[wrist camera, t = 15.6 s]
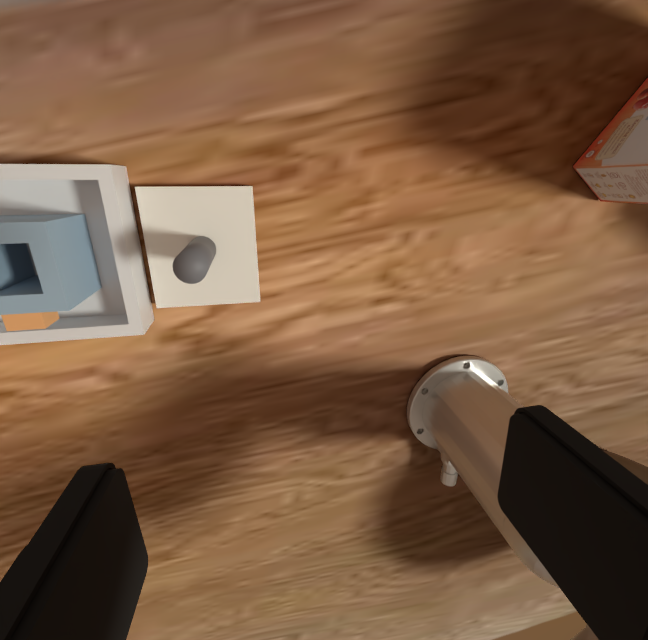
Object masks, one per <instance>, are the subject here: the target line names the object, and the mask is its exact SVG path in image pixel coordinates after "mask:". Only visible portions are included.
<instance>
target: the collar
mask: <svg viewBox="0 0 648 640" xmlns="http://www.w3.org/2000/svg"><path fill="white" fill-rule="evenodd" d="M26 243H29V247H30V250H31V253H32V257H33V260H34V264H35V267H36V270H37V274H38V275H35V272H34V269H33V265H32V262H31V259H30V255H29V252H28V249H27V245H26ZM101 288H102V285H101V280H100V276H99V272H98V268H97V263H96V259H95V255H94V251H93V246H92V242H91V238H90V234H89V229H88V225H87V221H86V217H85V214H50V215H0V315H1V316H2V319H3V322H4V325H5V328H6V331H18V330H32V329H46V328H47V327H49V326H50V325H51V324H53V323H54V322H56V321H57V320H58V319H60V318H59V315H58V311H70V310H71V309H73V308H74V307H76V306H77V305H78V304H80V303H81V302H82V301H84V300H85V299H87V298H88V297H89V296H91V295H92V294H94V293H95V292H96V291H98V290H99V289H101Z"/></svg>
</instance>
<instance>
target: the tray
mask: <svg viewBox="0 0 648 640" xmlns="http://www.w3.org/2000/svg"><path fill="white" fill-rule="evenodd" d="M50 214H85V217H86V221H87V225H88V229H89V234H90V238H91V242H92V246H93V251H94V255H95V259H96V263H97V268H98V272H99V276H100V280H101V285H102V288H101V289H99V290H98V291H96V292H95V293H94V294H92V295H91V296H89V297H88V298H87V299H85V300H84V301H82V302H81V303H80V304H78V305H77V306H76V307H74V308H73V309H71V310H70V311H58V315H59V318H60V319H58V320H57V321H56V322H54V323H53V324H51V325H50V326H49V327H47V328H46V329H32V330H18V331H6V328H5V325H4V322H3V319H2V316H1V315H0V345H9V344H22V343H36V342H50V341H64V340H77V339H91V338H105V337H119V336H132V335H144V334H145V333H146V331H147V330H148V328H149V327H150V325H151V324H152V323H153V321H154V315H153V310H152V304H151V299H150V293H149V288H148V283H147V277H146V272H145V266H144V261H143V255H142V250H141V245H140V239H139V234H138V228H137V223H136V218H135V212H134V207H133V201H132V196H131V191H130V185H129V180H128V174H127V169H126V166H119V165H108V164H0V215H50ZM26 245H27V249H28V252H29V255H30V259H31V262H32V265H33V269H34V272H35V275H38V274H37V270H36V267H35V264H34V260H33V257H32V253H31V250H30V247H29V243H26Z"/></svg>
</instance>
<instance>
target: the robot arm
mask: <svg viewBox="0 0 648 640" xmlns="http://www.w3.org/2000/svg"><path fill="white" fill-rule="evenodd" d="M407 420H408V424H409V426H410V428H411V430H412V432H413V433H414V435H415V436H416V438H417V439H418V440H419V441H420V442H422V443H423V444H424V445H426V446H428V447H430V448H434V449H438V450H439V452H440V453H441V460H442V462H443V466H442V469H441V475H440V480H441V482H442V483H443V484H444V485H446V486H454V485H456V482H457V476H458V474H459V475H460V477H461V478H462V480H463V481H464V482H465V484H466V485H467V487H468V488H469V489H470V491H471V492H472V494H473V495H474V496H475V498H476V499H477V501H478V502H479V503H480V505H481V506H482V508H483V509H484V510H485V512H486V513H487V515H488V516H489V517H490V519H491V520H492V522H493V523H494V524H495V526H496V527H497V529H498V530H499V531H500V533H501V534H502V536H503V537H504V538H505V540H506V541H507V543H508V544H509V545H510V547H511V548H512V550H513V551H514V552H515V554H516V555H517V556H518V558H519V559H520V560H521V561H522V563H523V564H524V565H525V566H526V567H528V568H529V569H530V570H531V571H532V572H533V573H534V574H536V575H537V576H538V577H540V578H541V579H543V580H545V581H546V582H548V583H550V584H552V585H554V586H556V587H558V588H560V589H561V590H562V591H563V593H564V594H565V595H566V597H567V598H568V599H569V601H570V602H571V603H572V605H573V606H574V607H575V609H576V610H577V611H578V613H579V614H580V615H581V617H582V618H583V619H584V620H585V622H586V623H587V625H586V627H585V628H584V629H583V630H582V631H580V632H579V633H578V634H577V635H575V636H574V637H573V638H572V639H571V640H648V485H647V484H646V483H645V482H643V481H642V480H641V479H639V478H638V477H637V476H635V475H634V474H633V473H632V472H630V471H629V470H628V469H626V468H625V467H624V466H622V465H621V464H620V463H618V462H617V461H616V460H614V459H613V458H612V457H610V456H609V455H608V454H607V453H605V452H604V451H603V450H601V449H600V448H599V447H597V446H596V445H595V444H593V443H592V442H591V441H589V440H588V439H587V438H585V437H584V436H583V435H581V434H580V433H579V432H578V431H576V430H575V429H574V428H572V427H571V426H570V425H568V424H567V423H566V422H564V421H563V420H562V419H560V418H559V417H558V416H556V415H555V414H554V413H552V412H551V411H550V410H549V409H547V408H546V407H544V406H541V405H537V406H529V407H524V406H523V405H521V404H520V403H519V402H518V401H516V400H515V399H514V398H513V397H512V396H510V395H509V394H508V384H507V381H506V378H505V376H504V375H503V373H502V372H501V370H500V369H499V368H497V367H496V366H495V365H494V364H492V363H491V362H489V361H488V360H486V359H483V358H481V357H476V356H459V357H455V358H451V359H449V360H446V361H444V362H441V363H440V364H438V365H436V366H435V367H433V368H432V369H431V370H429V371H428V372H427V373H426V374H425V375H424V376H423V377H422V378H421V379H420V380H419V382H418V383H417V384H416V386H415V387H414V389H413V391H412V393H411V395H410V398H409V400H408V405H407ZM147 568H148V555H147V551H146V547H145V544H144V540H143V537H142V533H141V530H140V526H139V523H138V519H137V516H136V512H135V509H134V505H133V502H132V498H131V495H130V491H129V488H128V484H127V481H126V477H125V474H124V471H123V470H122V469H121V468H118V469H116V468H115V465H114V464H113V463H104V464H96V465H89V466H83V467H81V468H80V469H79V470H78V471H77V472H76V474H75V475H74V477H73V478H72V480H71V481H70V483H69V484H68V486H67V487H66V489H65V490H64V492H63V493H62V495H61V496H60V498H59V499H58V501H57V502H56V504H55V505H54V507H53V508H52V510H51V511H50V513H49V514H48V516H47V517H46V519H45V520H44V522H43V523H42V524H41V526H40V527H39V529H38V530H37V532H36V533H35V535H34V536H33V538H32V539H31V541H30V542H29V544H28V545H27V546H26V547H25V548H24V549H23V550H22V551H21V553H20V554H19V555H18V557H17V558H16V560H15V561H14V563H13V564H12V566H11V567H10V569H9V570H8V572H7V573H6V575H5V576H4V577H3V579H2V580H1V582H0V640H126V638H127V635H128V632H129V628H130V625H131V622H132V619H133V615H134V612H135V609H136V606H137V602H138V599H139V596H140V593H141V589H142V586H143V583H144V580H145V576H146V573H147Z"/></svg>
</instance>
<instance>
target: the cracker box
mask: <svg viewBox="0 0 648 640" xmlns="http://www.w3.org/2000/svg"><path fill="white" fill-rule="evenodd" d="M573 168H574V169H575V170H576V171H577V173H578V174H579V175H580V176H581V178H582V179H583V180H584V181H585V183H586V184H587V185H588V186H589V187H590V189H591V190H592V191H593V192H594V194H595V195H596V196H597V197H598V198H599V200H600V201H605V202H618V203H636V204H648V78H647V79H646V80H645V81H644V82H643V84H642V85H641V86H640V87H639V88H638V90H637V91H636V92H635V93H634V94H633V95H632V97H631V98H630V99H629V100H628V101H627V102H626V104H625V105H624V106H623V107H622V109H621V110H620V111H619V112H618V113H617V114H616V116H615V117H614V118H613V119H612V120H611V122H610V123H609V124H608V125H607V126H606V127H605V129H604V130H603V131H602V132H601V133H600V135H599V136H598V137H597V138H596V139H595V140H594V142H593V143H592V144H591V145H590V146H589V148H588V149H587V150H586V151H585V152H584V154H583V155H582V156H581V157H580V158H579V159H578V161H577V162H576V163H575V164H574V165H573Z"/></svg>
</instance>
